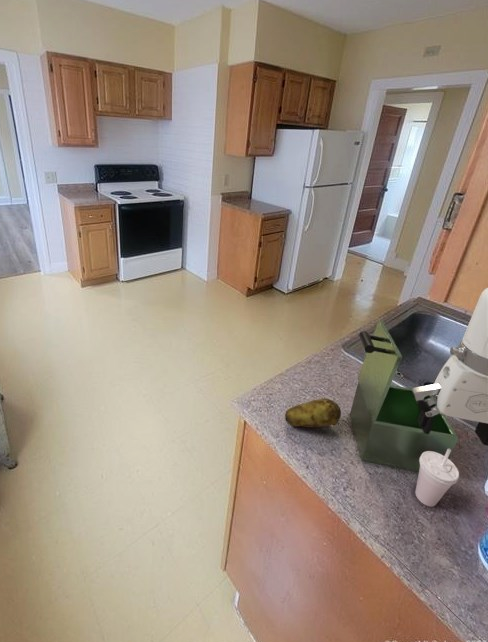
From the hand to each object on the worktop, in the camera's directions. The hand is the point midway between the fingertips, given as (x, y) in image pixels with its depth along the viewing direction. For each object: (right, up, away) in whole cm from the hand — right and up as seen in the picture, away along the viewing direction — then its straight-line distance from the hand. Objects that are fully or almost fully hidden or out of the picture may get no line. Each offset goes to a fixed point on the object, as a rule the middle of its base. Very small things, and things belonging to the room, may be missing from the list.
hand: (451, 433), depth 60 cm
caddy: (0, -12, +19) cm, 22 cm away
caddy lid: (-7, +8, +12) cm, 16 cm away
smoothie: (0, -17, +7) cm, 19 cm away
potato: (-19, -10, +23) cm, 32 cm away
